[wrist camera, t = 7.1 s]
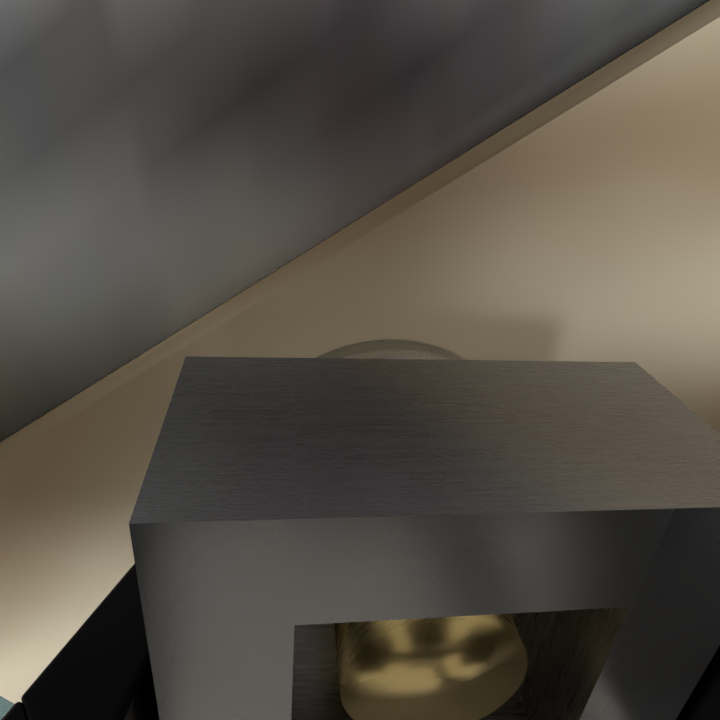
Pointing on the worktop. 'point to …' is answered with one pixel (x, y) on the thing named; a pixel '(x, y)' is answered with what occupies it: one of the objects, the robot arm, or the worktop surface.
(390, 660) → the hub
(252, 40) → the worktop surface
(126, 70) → the worktop surface
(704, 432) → the grey square frame
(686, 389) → the board
